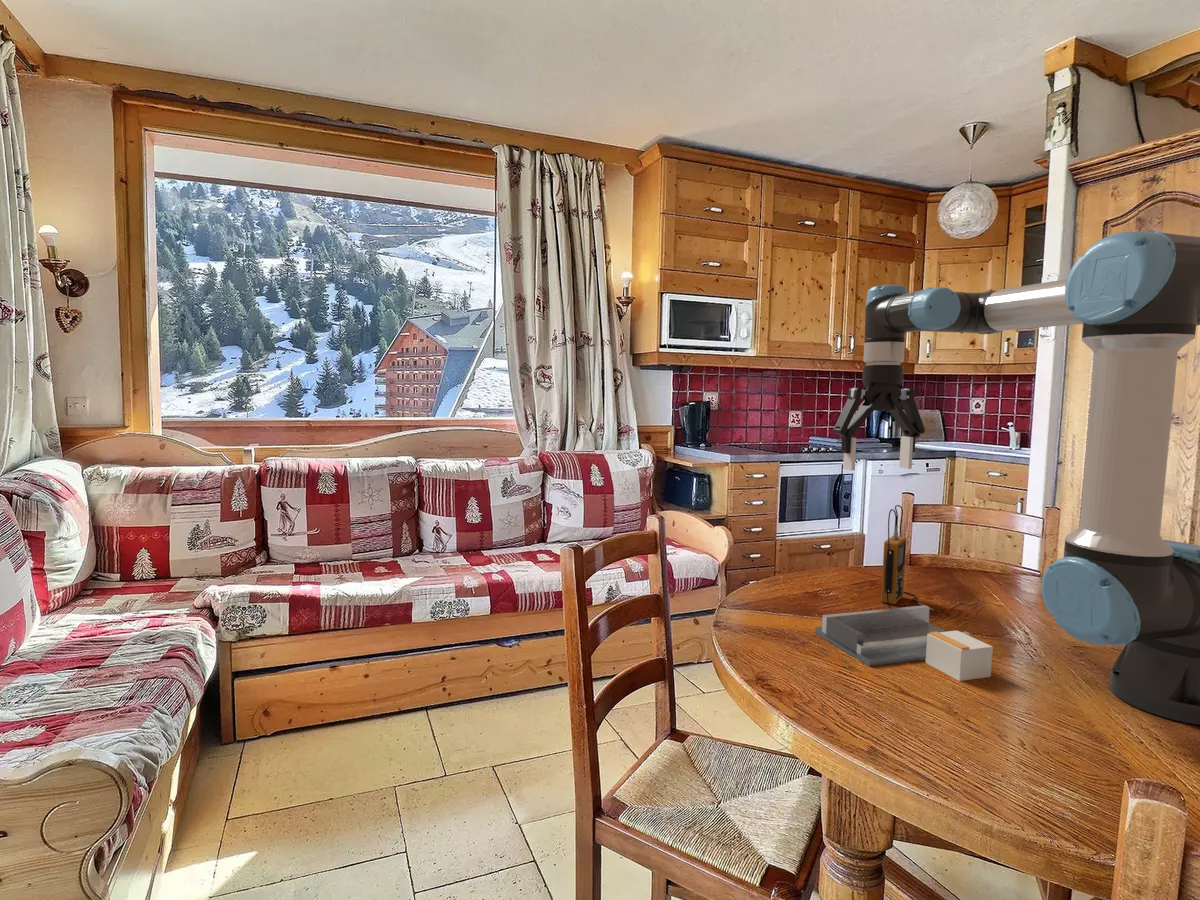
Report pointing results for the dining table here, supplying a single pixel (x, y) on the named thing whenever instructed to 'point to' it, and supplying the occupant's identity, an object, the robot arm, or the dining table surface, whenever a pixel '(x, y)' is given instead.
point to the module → (959, 655)
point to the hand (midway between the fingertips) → (877, 468)
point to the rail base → (881, 634)
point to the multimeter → (894, 565)
